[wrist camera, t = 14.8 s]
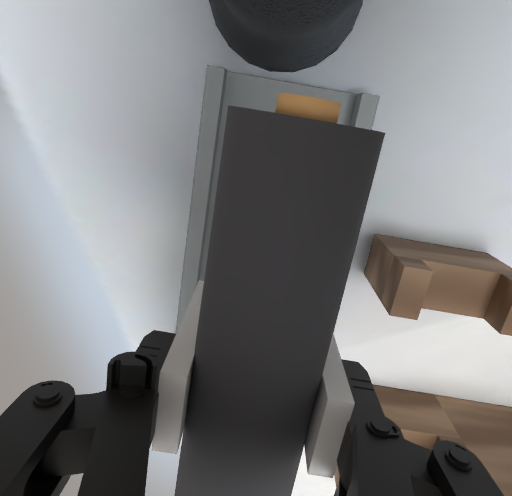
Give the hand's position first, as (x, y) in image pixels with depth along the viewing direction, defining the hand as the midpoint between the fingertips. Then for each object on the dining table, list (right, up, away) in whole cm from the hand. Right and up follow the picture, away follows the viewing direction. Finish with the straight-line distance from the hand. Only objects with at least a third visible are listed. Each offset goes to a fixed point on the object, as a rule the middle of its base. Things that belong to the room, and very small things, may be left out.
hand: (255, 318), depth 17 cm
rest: (+12, +2, +10) cm, 16 cm away
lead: (0, -1, -3) cm, 3 cm away
